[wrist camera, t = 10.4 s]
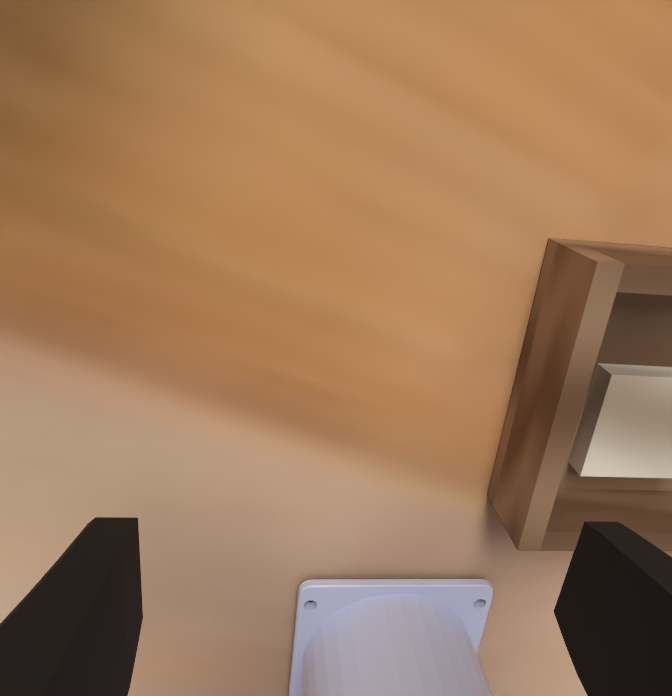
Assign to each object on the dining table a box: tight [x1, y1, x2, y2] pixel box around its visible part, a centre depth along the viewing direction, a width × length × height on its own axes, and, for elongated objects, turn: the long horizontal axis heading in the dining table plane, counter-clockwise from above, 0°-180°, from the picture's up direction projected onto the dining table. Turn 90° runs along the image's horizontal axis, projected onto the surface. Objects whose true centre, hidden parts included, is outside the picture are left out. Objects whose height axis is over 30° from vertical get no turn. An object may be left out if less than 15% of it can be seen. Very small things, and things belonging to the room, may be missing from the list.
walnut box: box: [487, 238, 672, 551], centre depth 19 cm, size 10×10×3 cm
